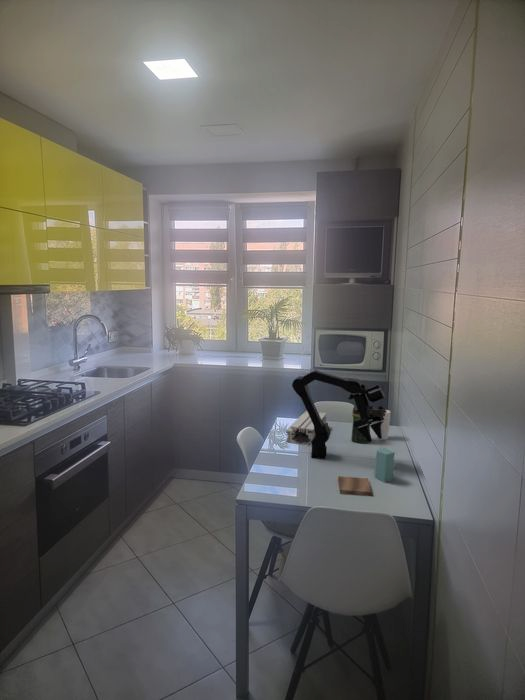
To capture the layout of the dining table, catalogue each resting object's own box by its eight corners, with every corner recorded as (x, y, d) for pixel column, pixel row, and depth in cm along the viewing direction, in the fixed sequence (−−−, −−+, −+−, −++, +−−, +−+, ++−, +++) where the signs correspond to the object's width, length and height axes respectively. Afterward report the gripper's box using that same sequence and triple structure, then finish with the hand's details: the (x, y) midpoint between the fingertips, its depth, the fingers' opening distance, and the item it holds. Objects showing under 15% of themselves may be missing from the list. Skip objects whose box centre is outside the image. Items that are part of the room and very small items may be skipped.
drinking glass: (386, 441, 222) (388, 413, 220) (374, 438, 226) (375, 411, 224) (390, 437, 228) (392, 410, 226) (377, 435, 231) (379, 408, 229)
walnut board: (339, 493, 165) (340, 489, 165) (338, 479, 177) (338, 476, 177) (371, 495, 164) (371, 492, 163) (367, 481, 175) (368, 478, 175)
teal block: (384, 482, 175) (386, 454, 173) (375, 477, 179) (376, 450, 177) (392, 479, 178) (394, 452, 176) (383, 475, 182) (384, 448, 180)
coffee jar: (370, 439, 224) (372, 405, 222) (368, 444, 217) (371, 409, 214) (352, 437, 228) (354, 403, 225) (349, 442, 220) (351, 407, 218)
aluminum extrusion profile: (285, 443, 218) (285, 424, 217) (301, 425, 247) (302, 408, 245) (312, 447, 213) (313, 427, 212) (325, 428, 242) (326, 411, 240)
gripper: (368, 401, 179) (382, 438, 175) (387, 398, 193) (401, 432, 189) (346, 410, 186) (359, 445, 182) (367, 406, 200) (379, 439, 196)
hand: (375, 440), depth 187 cm, fingers open, 9 cm apart
